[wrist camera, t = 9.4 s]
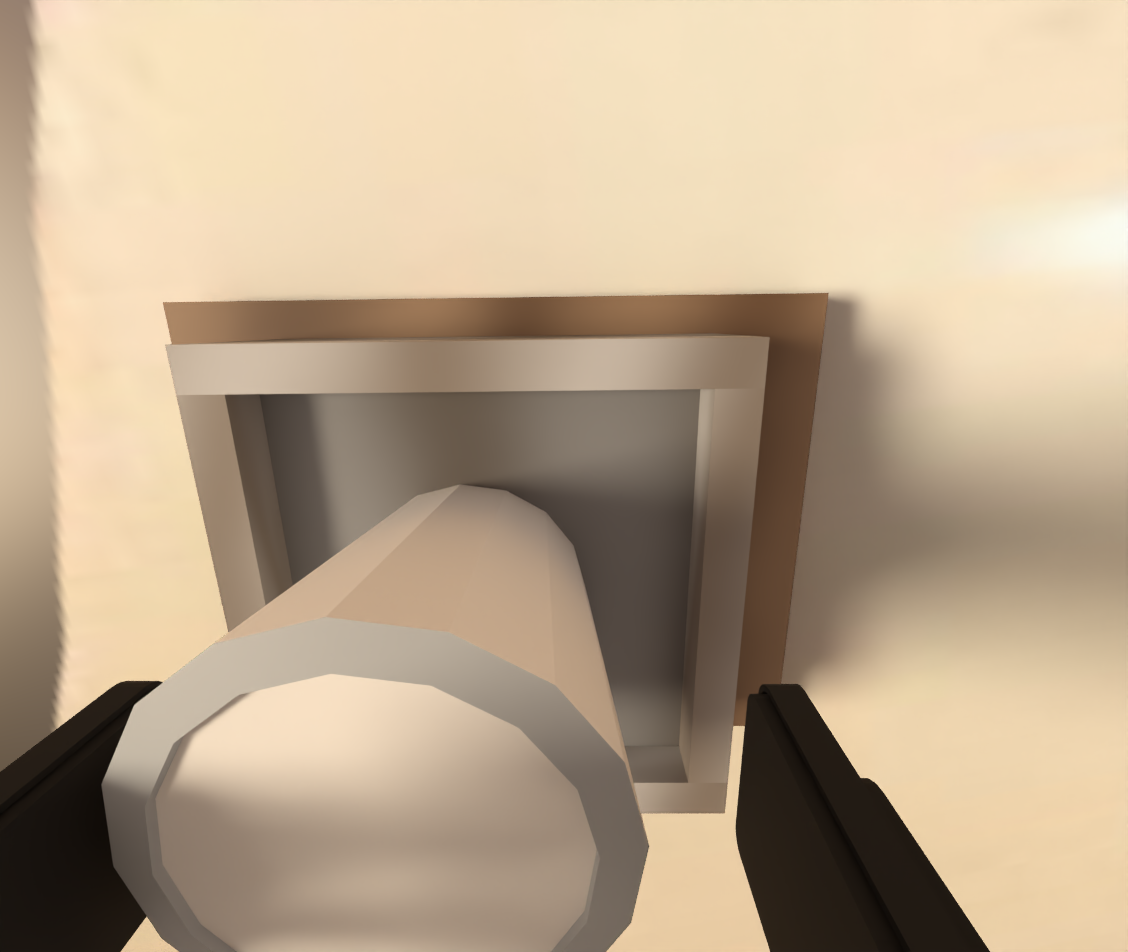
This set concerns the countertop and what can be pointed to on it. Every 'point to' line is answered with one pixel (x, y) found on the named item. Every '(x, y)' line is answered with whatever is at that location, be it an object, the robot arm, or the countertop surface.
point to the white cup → (391, 755)
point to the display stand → (534, 469)
